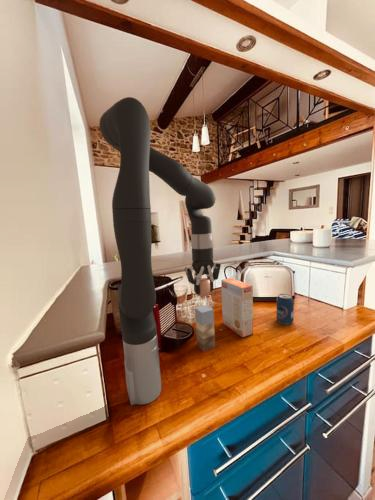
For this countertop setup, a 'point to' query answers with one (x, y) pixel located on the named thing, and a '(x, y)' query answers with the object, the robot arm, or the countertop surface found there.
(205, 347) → the tower base
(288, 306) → the soda can
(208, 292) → the pink rounded cylinder
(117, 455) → the countertop surface
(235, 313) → the cracker box
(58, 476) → the countertop surface
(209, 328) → the tower mid
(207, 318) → the tower top
